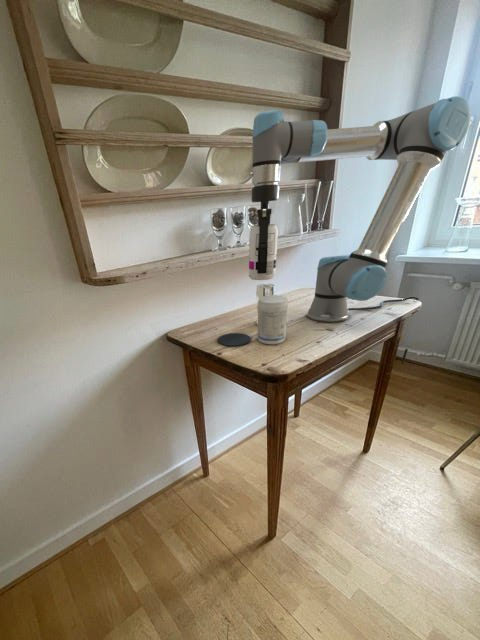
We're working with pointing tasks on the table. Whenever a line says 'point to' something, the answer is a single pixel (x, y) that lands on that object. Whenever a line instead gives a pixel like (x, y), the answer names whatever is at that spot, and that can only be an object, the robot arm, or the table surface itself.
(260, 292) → the beer glass
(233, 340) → the coaster
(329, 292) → the robot arm
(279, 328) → the supplement tub
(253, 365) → the table surface
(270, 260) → the supplement can
